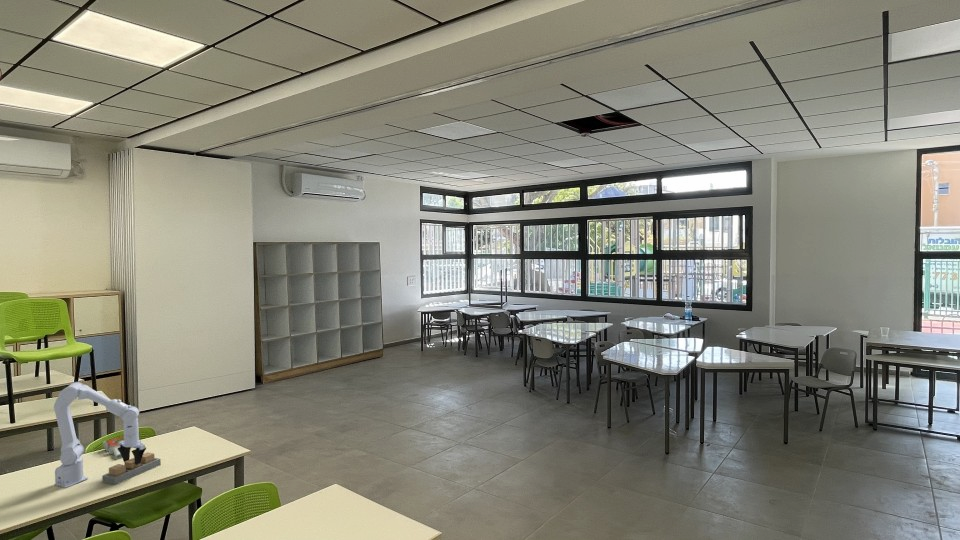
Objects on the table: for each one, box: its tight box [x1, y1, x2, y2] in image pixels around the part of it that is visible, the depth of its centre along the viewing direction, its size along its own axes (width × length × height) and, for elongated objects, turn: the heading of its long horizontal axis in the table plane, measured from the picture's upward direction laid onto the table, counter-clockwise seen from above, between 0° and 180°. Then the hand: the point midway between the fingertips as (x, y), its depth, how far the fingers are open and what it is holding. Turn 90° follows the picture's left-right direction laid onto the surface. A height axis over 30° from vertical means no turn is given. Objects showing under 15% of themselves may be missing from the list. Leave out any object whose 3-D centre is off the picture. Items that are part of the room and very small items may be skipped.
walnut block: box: [123, 457, 141, 470], centre depth 240 cm, size 4×4×5 cm
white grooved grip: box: [102, 436, 124, 461], centre depth 265 cm, size 18×5×20 cm
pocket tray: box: [102, 452, 162, 486], centre depth 240 cm, size 22×8×6 cm, turn 160°
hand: (132, 462), depth 240 cm, fingers open, 7 cm apart
